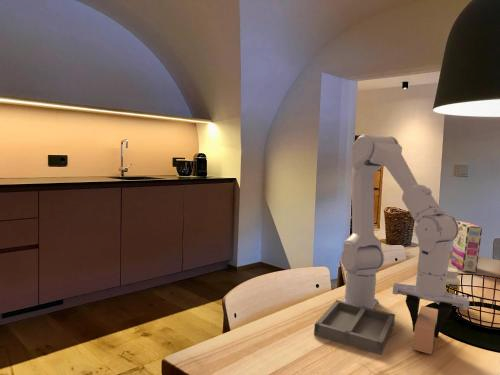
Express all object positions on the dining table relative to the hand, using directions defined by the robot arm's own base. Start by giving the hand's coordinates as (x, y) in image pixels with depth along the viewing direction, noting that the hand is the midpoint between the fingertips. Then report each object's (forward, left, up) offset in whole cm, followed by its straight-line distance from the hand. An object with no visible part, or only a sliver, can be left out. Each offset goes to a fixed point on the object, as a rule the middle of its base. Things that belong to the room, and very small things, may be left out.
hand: (425, 333), depth 82 cm
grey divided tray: (+3, -14, -2) cm, 14 cm away
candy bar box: (-70, +7, -2) cm, 70 cm away
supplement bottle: (-27, +3, -2) cm, 27 cm away
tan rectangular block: (0, 0, -1) cm, 1 cm away
